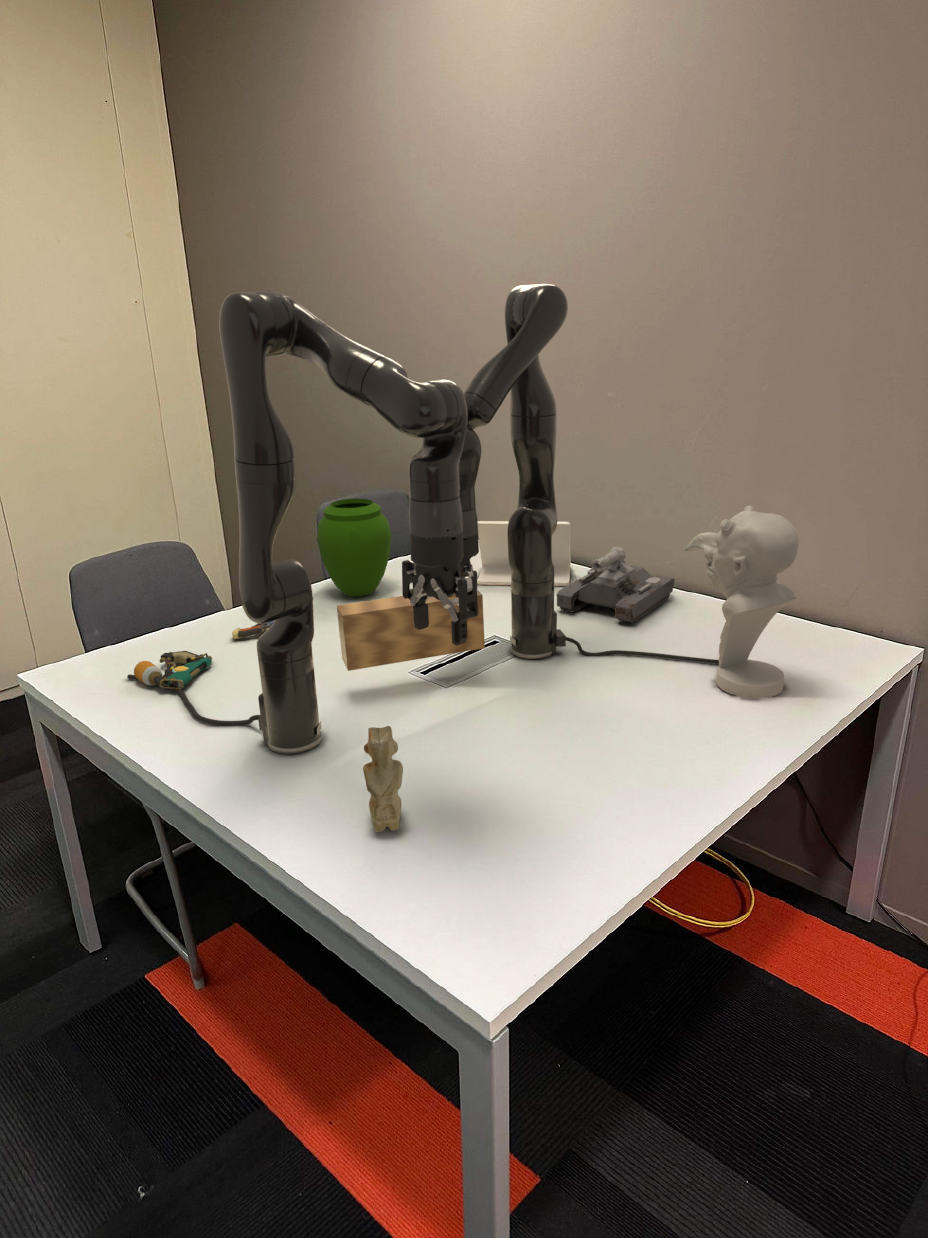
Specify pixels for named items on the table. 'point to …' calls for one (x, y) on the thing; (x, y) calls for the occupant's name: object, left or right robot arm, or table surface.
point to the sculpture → (383, 778)
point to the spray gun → (172, 669)
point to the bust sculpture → (748, 593)
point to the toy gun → (251, 630)
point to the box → (400, 632)
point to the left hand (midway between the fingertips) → (440, 635)
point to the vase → (354, 545)
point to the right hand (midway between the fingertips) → (462, 612)
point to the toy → (616, 588)
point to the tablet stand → (496, 553)
